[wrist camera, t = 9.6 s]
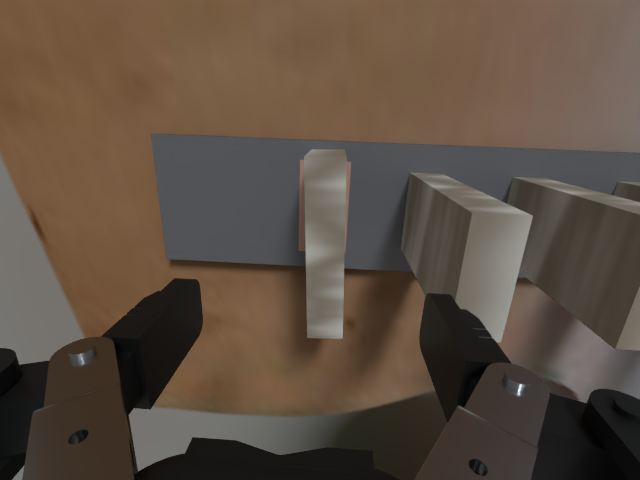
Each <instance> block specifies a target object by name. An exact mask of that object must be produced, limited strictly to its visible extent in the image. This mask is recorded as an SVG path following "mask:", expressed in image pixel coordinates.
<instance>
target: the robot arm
mask: <svg viewBox="0 0 640 480" xmlns="http://www.w3.org/2000/svg"><path fill="white" fill-rule="evenodd" d="M202 324H203V315H202V304H201V293H200V285H199V282H198V280H196V279H179V278H175V279H173V280H172V281H171V282H170V283H169V284H168V285H167V286H166V287H165V288H164V289H163V290H161V291H157V292H155V293H153V294H151V295H149V296H147V297H145V298H144V299H143V300H141V301H140V302H139V303H138V304H137V305H136V306H135V308H132V309H131V310H130V311H129V312H128V313H127V315H125V316H123V317H122V318H121V319H120V320H119V321H118V322H117V323H116V324H114V325H113V326H112V327H111V328H110V329H109V330H108V331H107V332H105V333H104V334H103V335H102V336H101V337H90V338H85V339H81V340H78V341H75V342H72V343H70V344H68V345H66V346H64V347H62V348H61V349H60V350H58V351H57V352H55V353H54V354H53V356H52V357H51V358H50V360H49V361H43V362H36V363H29V364H22V365H19V363H18V360H17V357H16V353H15V352H14V351H13V350H11V349H6V348H0V480H12V479H13V478H14V476H15V475H16V474H17V473H18V472H19V470H20V469H21V468H22V467H23V466H24V472H23V479H22V480H400V479H398V478H396V477H395V476H393V475H391V474H389V473H387V472H385V471H383V470H380V469H378V468H375V467H374V461H373V452H372V451H367V450H355V449H341V448H321V449H316V450H310V451H304V452H298V453H292V454H286V455H277V454H274V453H271V452H268V451H265V450H262V449H259V448H256V447H253V446H250V445H247V444H245V443H242V442H239V441H235V440H221V439H208V438H194V437H193V438H192V440H191V442H190V444H189V446H188V449H187V451H186V453H185V454H180V455H176V456H172V457H169V458H166V459H163V460H161V461H158V462H156V463H154V464H152V465H150V466H148V467H146V468H144V469H142V470H140V471H139V472H138V468H137V463H136V457H135V451H134V446H133V439H132V433H131V427H130V421H129V416H128V415H129V414H130V412H131V411H132V410H133V408H141V409H151V408H152V406H153V405H154V403H155V402H156V400H157V399H158V397H159V396H160V394H161V393H162V391H163V390H164V388H165V387H166V385H167V384H168V382H169V381H170V379H171V377H172V376H173V374H174V373H175V371H176V370H177V368H178V367H179V365H180V364H181V362H182V361H183V359H184V358H185V356H186V355H187V353H188V352H189V350H190V349H191V347H192V346H193V344H194V343H195V341H196V340H197V338H198V337H199V335H200V333H201V329H202ZM420 348H421V352H422V354H423V357H424V360H425V363H426V365H427V368H428V371H429V374H430V376H431V379H432V382H433V385H434V387H435V390H436V393H437V396H438V398H439V401H440V404H441V407H442V409H443V412H444V414H445V417H446V420H447V425H446V427H445V429H444V430H443V432H442V434H441V435H440V437H439V439H438V441H437V442H436V444H435V446H434V448H433V449H432V451H431V453H430V454H429V456H428V458H427V460H426V461H425V463H424V465H423V466H422V468H421V470H420V471H419V473H418V475H417V476H416V478H415V480H640V400H639V399H637V398H635V397H633V396H630V395H628V394H625V393H622V392H619V391H615V390H609V389H597V390H594V391H593V392H591V394H590V396H589V399H588V402H587V403H583V402H579V401H576V400H572V399H568V398H565V397H561V396H557V395H555V394H552V393H550V392H549V388H548V387H547V385H546V384H545V382H543V380H542V379H541V378H539V377H538V376H537V375H536V374H534V373H533V372H531V371H529V370H527V369H525V368H523V367H521V366H518V365H515V364H512V363H511V362H510V361H509V359H508V358H507V356H506V355H505V354H504V352H503V351H502V350H501V348H500V347H499V345H498V344H497V343H496V341H495V340H494V339H492V336H491V334H490V333H489V332H488V330H486V327H485V326H484V325H483V323H482V322H481V321H480V319H479V318H478V317H476V316H475V315H474V314H472V313H471V312H469V311H468V310H467V309H460V308H459V306H458V305H457V303H456V302H455V300H454V299H453V297H452V296H451V295H450V294H437V293H427V295H426V297H425V302H424V309H423V315H422V321H421V328H420Z"/></svg>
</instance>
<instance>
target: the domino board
mask: <svg viewBox="0 0 640 480" xmlns="http://www.w3.org/2000/svg"><path fill="white" fill-rule="evenodd" d="M151 137H152V145H153V153H154V161H155V169H156V177H157V185H158V193H159V202H160V210H161V218H162V226H163V234H164V242H165V250H166V258H167V259H175V260H194V261H213V262H232V263H251V264H270V265H289V266H306V245H305V190H304V156H305V155H306V154H307V153H308V152H309V151H310V150H311V149H344V150H345V153H346V156H347V164H346V209H345V253H344V268H346V269H365V270H384V271H403V272H413V271H412V269H411V267H410V265H409V263H408V261H407V259H406V258H405V256H404V254H403V252H402V250H401V242H402V234H403V226H404V218H405V210H406V202H407V194H408V186H409V178H410V173H430V174H444V175H446V176H448V177H450V178H452V179H455V180H457V181H459V182H461V183H463V184H465V185H468V186H470V187H472V188H474V189H476V190H478V191H480V192H483V193H485V194H487V195H489V196H491V197H493V198H496V199H498V200H500V201H502V202H504V203H506V204H507V202H508V197H509V193H510V188H511V184H512V179H513V177H523V178H546V179H550V180H554V181H558V182H562V183H566V184H570V185H574V186H578V187H582V188H585V189H589V190H593V191H597V192H601V193H605V194H609V195H614V192H615V189H616V186H617V183H618V182H639V183H640V153H624V152H599V151H574V150H549V149H524V148H500V147H475V146H450V145H425V144H400V143H375V142H350V141H325V140H300V139H275V138H250V137H225V136H200V135H175V134H151ZM517 278H526V277H525V276H524V275H522V274H521V273H520V272H519V273H518V277H517Z"/></svg>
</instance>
